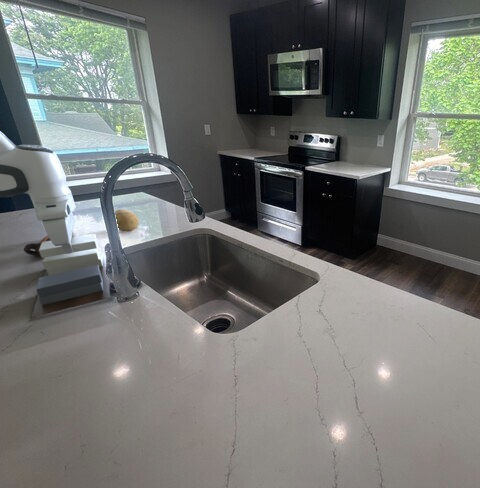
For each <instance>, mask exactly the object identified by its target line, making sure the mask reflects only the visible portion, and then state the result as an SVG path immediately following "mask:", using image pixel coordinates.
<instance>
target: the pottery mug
mask: <svg viewBox="0 0 480 488" xmlns="http://www.w3.org/2000/svg"><path fill="white" fill-rule="evenodd" d="M45 241H51V240H50V238H49V236H46V235H45V237H43V238H42V239H41V240H40V241H39V242H35V243H31V242H30V243H28V244H26V245H24V247H23V252H25V253H26V254H27V255H29V256H35V257H41V254H40V252H39V249H40V246H41V244H42V242H45Z"/></svg>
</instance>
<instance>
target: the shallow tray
mask: <svg viewBox="0 0 480 488" xmlns="http://www.w3.org/2000/svg"><path fill="white" fill-rule="evenodd" d="M105 252H106V251H101V254H102V257H103V266H101V267H99V269H100V272H101V276H102V279H103V291H99V292H95V293H91V294H87V295H83V296H78V297H74V298H70V299H66V300H62V301H58V302H53V303H49V304H45V305H41V302H40V300H39V298H38V297H39V294H38V293H37V296H36V300H35V302H34V306H33V310H32V312H31V316H30V318H31V319H32V318H36V317H40V316H43V315H48V314H51V313H55V312H59V311H63V310H67V309H72V308H76V307H79V306H83V305H87V304H91V303H95V302H99V301H103V300H107V299H110V298H111V292H110V289H111V288H110V277H109V278H108V277H107V276H106V274H105V265H106V256H105ZM45 276H49V274H48V272H47V269H44V274H43V277H45Z"/></svg>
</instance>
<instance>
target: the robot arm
mask: <svg viewBox="0 0 480 488" xmlns="http://www.w3.org/2000/svg"><path fill="white" fill-rule="evenodd" d="M22 194H26V195H29V197H30V200H31V202H32V204H33V205H32V206H33V207H34V210H35V217H36V219H37V221H40V220H42V223H43V226H44V228H45V230H46V232H47V234H48V236H49V238H50V240H51V242H52V243H53V244H54V245H55V246H62V247H63V249H64V251H65V253H66V254H69V253H73V248H72V246H71V238H72V237H75V236H74V228H75V222H76V221H75V217H74V215H73V211H74V210H75V209H76V208H77V206H76V202H75V199H74V197H73V193H72V190H71V188H70V187H69V186H68V184H67V175H66V173H65V170H64V168H63V165H62V163H61V161H60V158H59V157H58V154H57V153H56V152H55V151H54V150H53V149H51V148H50V147H47V146H43V145H39V144H19V145H16V144H15V143H14V142H13V141H12V140H11V139H9V138H8V137H7V135H5V134H4V133H3V132H2V131H1V130H0V198H9V197H14V196H18V195H22ZM42 223H41V224H42ZM43 226H42V227H43ZM44 228H43V229H44Z"/></svg>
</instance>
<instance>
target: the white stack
mask: <svg viewBox="0 0 480 488" xmlns="http://www.w3.org/2000/svg"><path fill="white" fill-rule="evenodd" d="M101 253H102V251H101V249H100V246H99V244H97V248H95V249H90V250H84V251H78V252H73V253H69V254H61V255H56V256H50V257H45V258H42V261H41V263H42V266H43V268H44V270H46V269H47V272H48V274H49V276H50V275H54V274H59V273H63V272H68V271H72V270H77V269H82V268H86V267H91V266H95V265H98V266H99V267H101V266H103V257H102V254H101Z"/></svg>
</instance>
